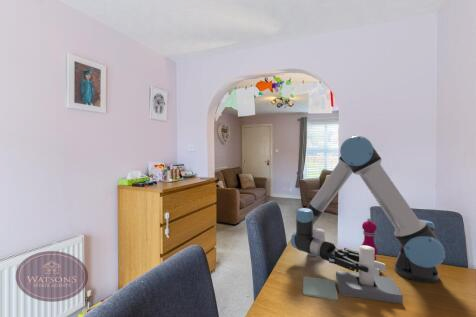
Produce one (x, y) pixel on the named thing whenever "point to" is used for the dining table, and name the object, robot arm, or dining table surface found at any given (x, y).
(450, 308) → the dining table surface
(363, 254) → the plug
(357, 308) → the dining table surface
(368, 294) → the grey holed plate
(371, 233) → the pink bowling pin
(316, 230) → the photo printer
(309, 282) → the pad
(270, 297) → the dining table surface
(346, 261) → the robot arm
